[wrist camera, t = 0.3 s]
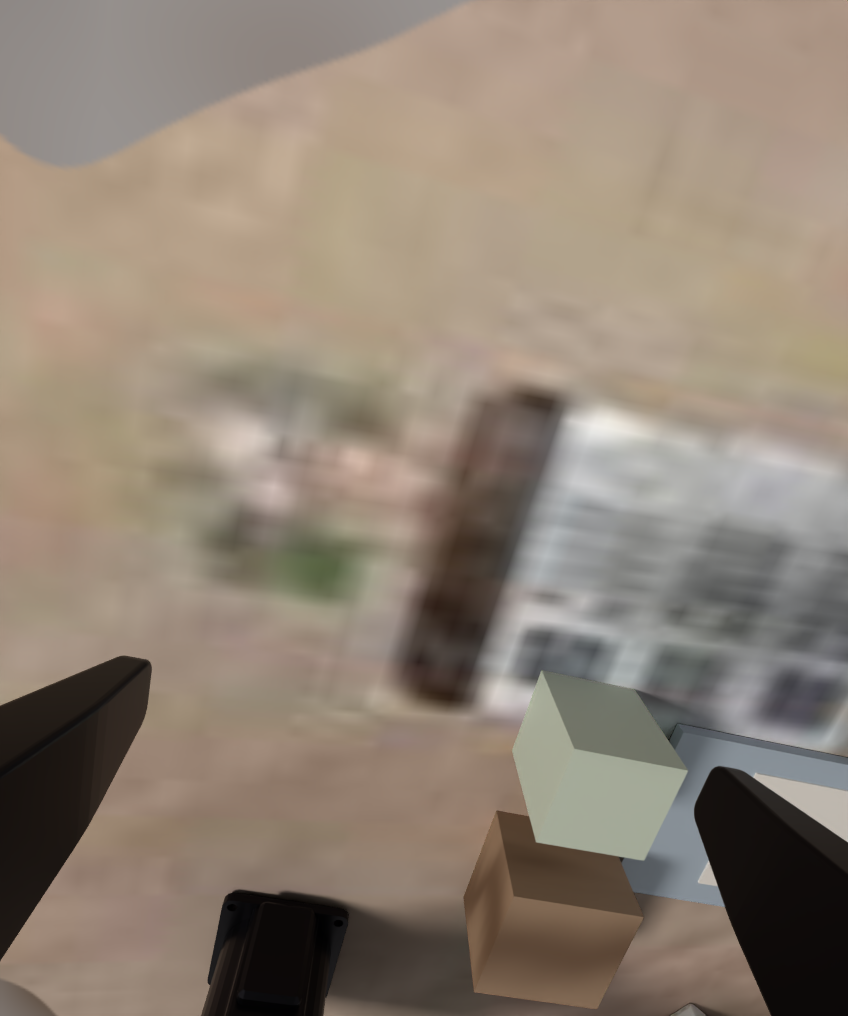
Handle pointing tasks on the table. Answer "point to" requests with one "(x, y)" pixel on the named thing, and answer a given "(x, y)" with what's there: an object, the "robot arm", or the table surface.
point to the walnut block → (546, 918)
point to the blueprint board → (784, 769)
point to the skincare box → (689, 1011)
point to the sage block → (595, 767)
